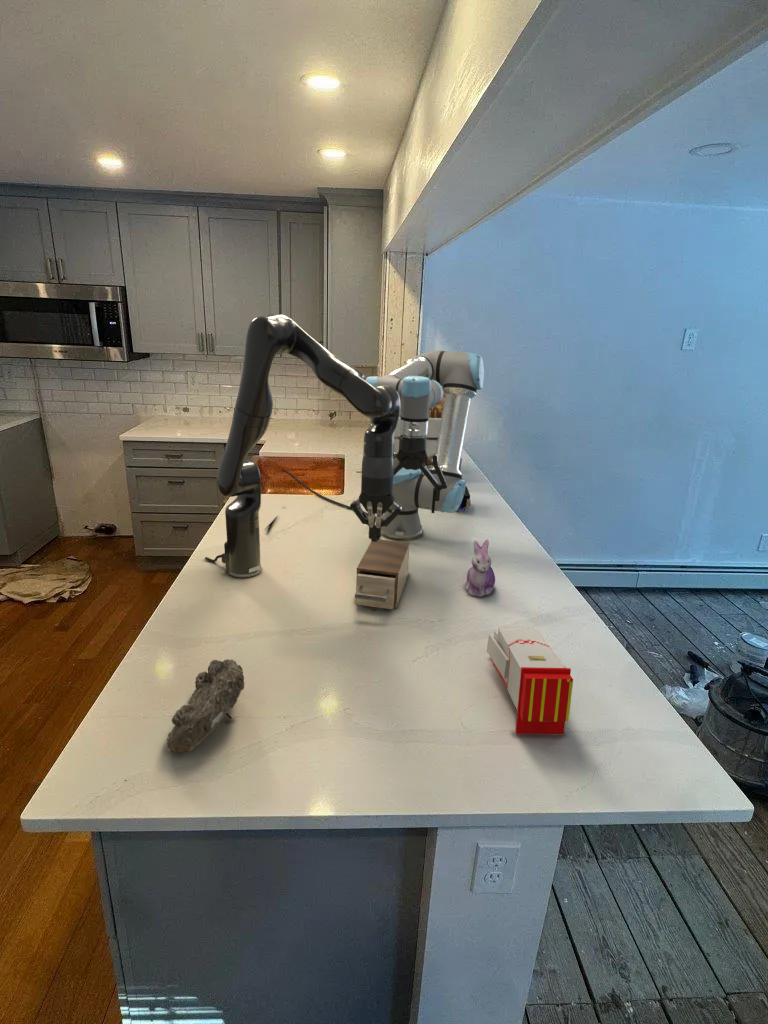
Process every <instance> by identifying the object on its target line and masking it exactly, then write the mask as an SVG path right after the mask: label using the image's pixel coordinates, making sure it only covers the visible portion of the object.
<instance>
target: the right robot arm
mask: <svg viewBox="0 0 768 1024" xmlns="http://www.w3.org/2000/svg"><path fill="white" fill-rule="evenodd" d="M484 367H485V366H484V360H483V356H482V355H481V354H479V353H474V352H469V351H466V352H463V351H448V350H447V351H446V350H431V351H427V352H423V353H420V354H418V355H415V356H413V357H411V358H410V359H408V360H407V362H406V364H405V365H402V366H401V367H399V368H397V369H394V370H393V371H391V372H389V373H388V374H385V375H383V376H377V375H375V376H367V377H365V379H366V381H367V382H368V383H369V384H371V385H373V386H375V387H378V386H383V385H388V386H392V387H393V388H395V389H396V390H397V392H398V394H399V396H400V402H401V418H400V434H401V436H400V437H399V451H398V453H393V458H395V457H397V459H398V461H399V463H398V464H397V465H396V467H395V468H394V474H393V497H394V502H395V503H396V504H397V505H401V506H402V510H401V512H400V513H399V514H398V515H397V516H396V517H395V518H394V519H393V520H392V521H391V522H390V524H389V525H388V526H386V527H385V526H383V527H382V528H381V536H382V537H385V538H387V539H389V540H394V541H410V540H415V539H418V538H420V537H421V536H422V535H423V525H422V524H421V518H420V515H419V509H422V510H429V511H431V514H435V512H440V513H447V514H448V513H449V514H453V513H456V512H458V511H457V510H458V508H459V506H460V504H461V502H462V499H463V496H464V493H465V486H467V484H466V480H465V479H462V478H463V473H462V471H461V472H460V471H459V464H460V458H462V453H463V447H464V446H463V445H464V440H465V435H466V429H467V423H468V419H469V418H468V417H469V410H470V404H471V401H472V399H474V397H476V396H477V392H478V391H480V390H482V389H483V386H484V382H485V381H484V380H485V368H484ZM443 393H444V394H445V401H444V407H443V413H442V419H441V425H440V430H439V436H438V442H437V448H436V453H435V454H433V455H427V453H426V448H427V438H426V435H427V434H428V417H429V408H432V407H435V406H436V405H437V404H438V403H439V402H440V401H441V400H442V398H443ZM461 452H462V453H461ZM427 459H429V460H430V462H431V463H433V466H432V465H431V466H430V467H429V468H428V466H426V465H425V464H424V463H425V462H426V461H427ZM281 471H282V472H284V473H285V474H287V475H289V476H290V477H291V478H292V479H293V480H295V481H296V482H297V483H299V484H300V486H302V487H304V488H305V489H306V490H308V491H309V492H310V493H312V494H314V495H315V496H317V497H319V498H321V499H324V500H325V501H328V502H330V503H333V504H335V505H338V506H340V507H343V508H346V509H349V510H352V509H351V507H350V505H348V504H344V503H341V502H339V501H336V500H333V499H330V498H328V497H326V496H324V495H323V494H320V493H318V492H316V491H315V490H313V489H311V488H310V487H308V486H307V485H306V484H304V483H303V482H302V481H301V480H299V479H298V478H297V477H296V476H295V475H293V474H292V473H291V472H289V471H288V470H286V469H284V468H281ZM391 509H392V506H391V507H390V508H389V509H388V510H387V511H386V512H385V513H384V515H383V520H385V519H386V518H387V517H388V516H389V515H390V514H391V513H392V512H391ZM364 512H365V514H366V515H367V517H368V512H367V511H364ZM375 520H376V516H375Z"/></svg>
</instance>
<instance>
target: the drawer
mask: <svg viewBox="0 0 768 1024" xmlns="http://www.w3.org/2000/svg"><path fill="white" fill-rule="evenodd" d="M356 577H357V583H356V582H355V584H356V585H355V593H354V599H355V605H357V606H364V607H373V608H380V609H388V610H394V608H393V607H394V591H395V575H388V574H380V573H372V572H363V571H362V574H357V573H356Z"/></svg>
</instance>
